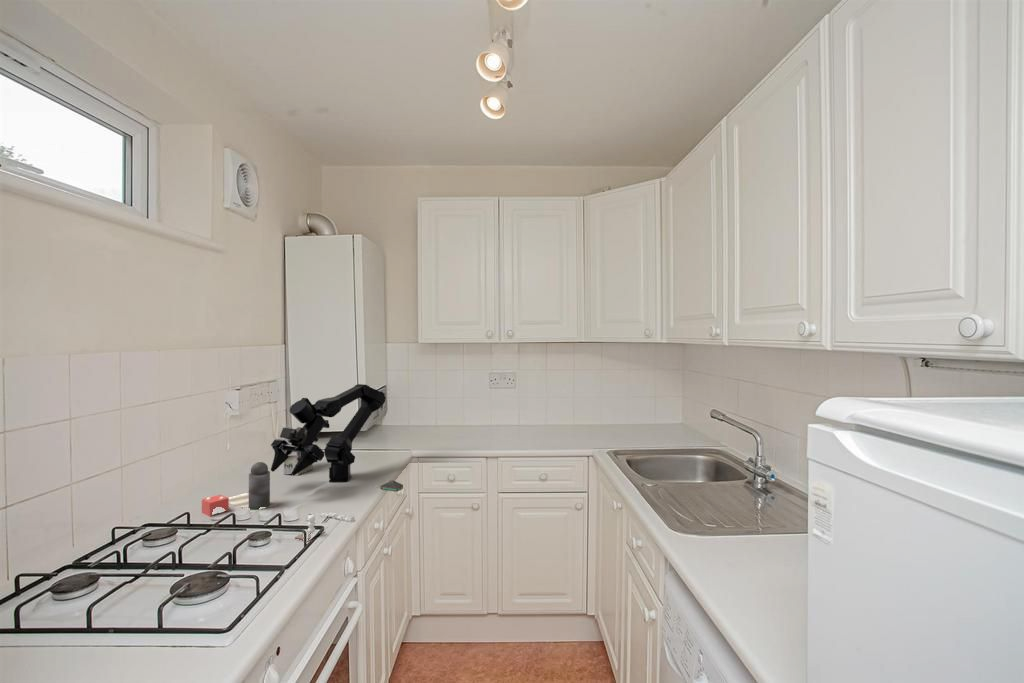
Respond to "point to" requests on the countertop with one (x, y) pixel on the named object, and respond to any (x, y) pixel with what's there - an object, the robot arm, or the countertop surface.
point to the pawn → (259, 486)
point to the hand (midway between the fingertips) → (282, 472)
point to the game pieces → (387, 486)
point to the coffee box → (293, 462)
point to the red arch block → (214, 504)
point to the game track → (245, 501)
